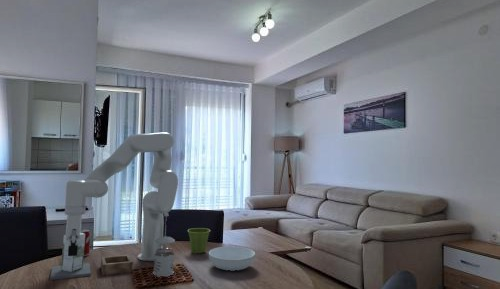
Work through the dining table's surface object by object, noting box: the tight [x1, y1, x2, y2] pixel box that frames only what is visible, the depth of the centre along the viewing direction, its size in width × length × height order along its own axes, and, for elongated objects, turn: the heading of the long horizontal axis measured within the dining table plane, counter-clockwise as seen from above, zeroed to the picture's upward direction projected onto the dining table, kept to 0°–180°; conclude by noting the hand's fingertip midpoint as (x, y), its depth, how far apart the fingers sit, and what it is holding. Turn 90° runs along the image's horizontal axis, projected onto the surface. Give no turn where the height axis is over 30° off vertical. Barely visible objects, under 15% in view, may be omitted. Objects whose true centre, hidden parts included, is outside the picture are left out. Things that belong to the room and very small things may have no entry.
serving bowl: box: [208, 246, 256, 272], centre depth 150 cm, size 21×21×7 cm
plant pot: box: [187, 227, 211, 254], centre depth 173 cm, size 12×12×11 cm
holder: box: [100, 254, 134, 276], centre depth 142 cm, size 11×11×4 cm
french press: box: [152, 212, 176, 276], centre depth 140 cm, size 10×12×25 cm
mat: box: [49, 262, 92, 281], centre depth 136 cm, size 14×14×1 cm
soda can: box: [80, 228, 92, 258], centre depth 159 cm, size 7×7×12 cm
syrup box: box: [60, 233, 85, 272], centre depth 137 cm, size 6×6×14 cm
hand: (72, 252), depth 136 cm, fingers open, 9 cm apart
